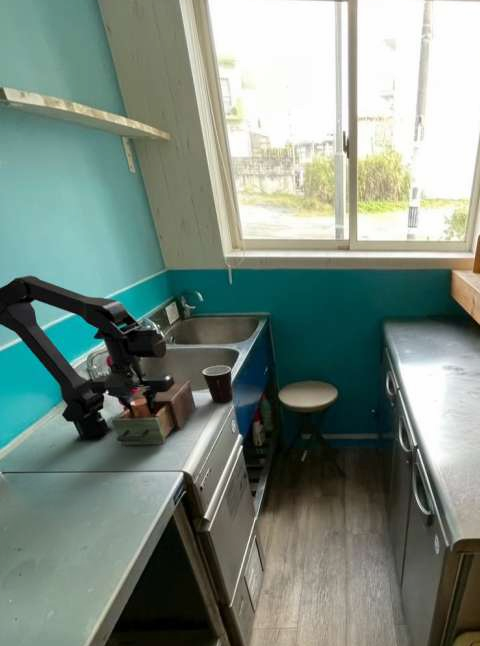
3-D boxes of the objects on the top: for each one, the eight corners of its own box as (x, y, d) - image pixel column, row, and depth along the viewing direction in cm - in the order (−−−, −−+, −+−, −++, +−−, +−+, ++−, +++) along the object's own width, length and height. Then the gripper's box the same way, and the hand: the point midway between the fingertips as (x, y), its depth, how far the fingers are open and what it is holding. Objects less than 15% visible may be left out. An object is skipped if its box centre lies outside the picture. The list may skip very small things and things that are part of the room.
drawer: (157, 453, 100) (148, 428, 96) (112, 454, 100) (101, 429, 96) (182, 420, 115) (175, 397, 111) (143, 421, 115) (135, 398, 111)
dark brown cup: (216, 393, 134) (210, 365, 128) (240, 394, 133) (235, 366, 127) (200, 408, 124) (192, 378, 119) (226, 409, 123) (219, 379, 118)
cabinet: (179, 430, 112) (171, 400, 107) (135, 431, 112) (124, 401, 107) (196, 408, 124) (188, 380, 119) (156, 408, 124) (147, 381, 119)
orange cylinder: (156, 415, 107) (151, 398, 105) (148, 424, 103) (142, 407, 100) (140, 415, 107) (134, 398, 104) (131, 425, 103) (124, 407, 100)
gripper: (65, 368, 89) (92, 429, 98) (148, 367, 90) (167, 427, 98) (91, 353, 98) (114, 409, 107) (166, 351, 99) (182, 408, 107)
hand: (143, 413), depth 105 cm, fingers closed on orange cylinder, 4 cm apart
